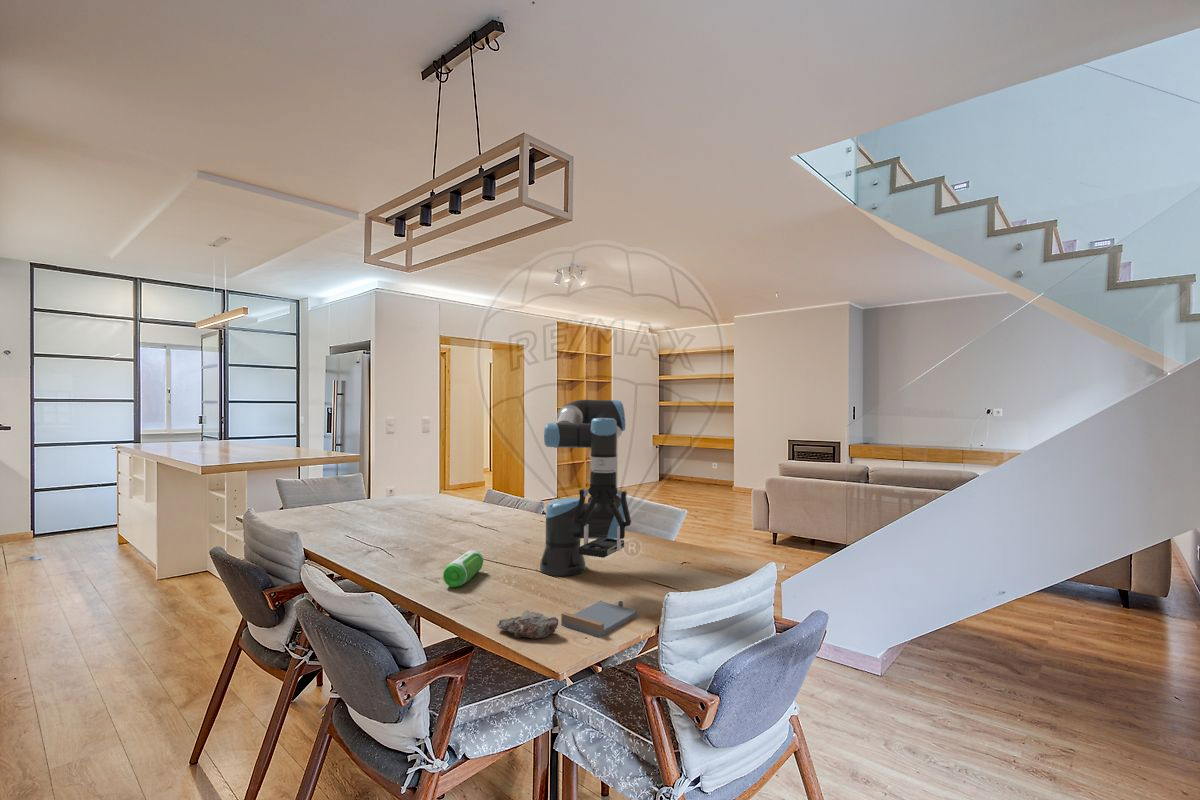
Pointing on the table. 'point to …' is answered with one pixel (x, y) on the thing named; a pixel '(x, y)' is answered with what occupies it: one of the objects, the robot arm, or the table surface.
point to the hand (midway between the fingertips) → (602, 548)
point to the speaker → (463, 568)
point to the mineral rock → (529, 625)
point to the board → (598, 618)
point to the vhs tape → (600, 547)
